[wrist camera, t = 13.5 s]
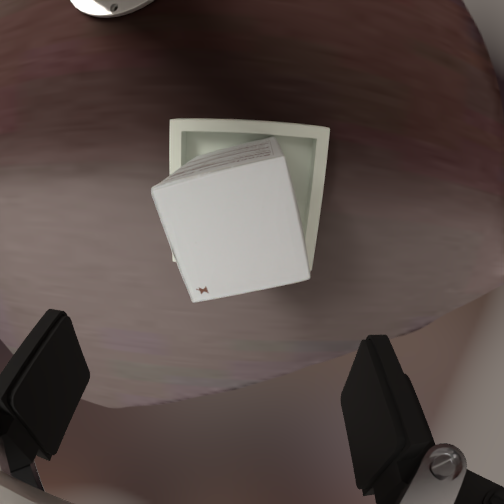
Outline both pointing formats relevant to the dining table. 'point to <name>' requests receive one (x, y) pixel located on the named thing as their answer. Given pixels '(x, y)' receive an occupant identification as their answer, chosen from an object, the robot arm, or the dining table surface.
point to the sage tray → (242, 131)
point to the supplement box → (234, 221)
